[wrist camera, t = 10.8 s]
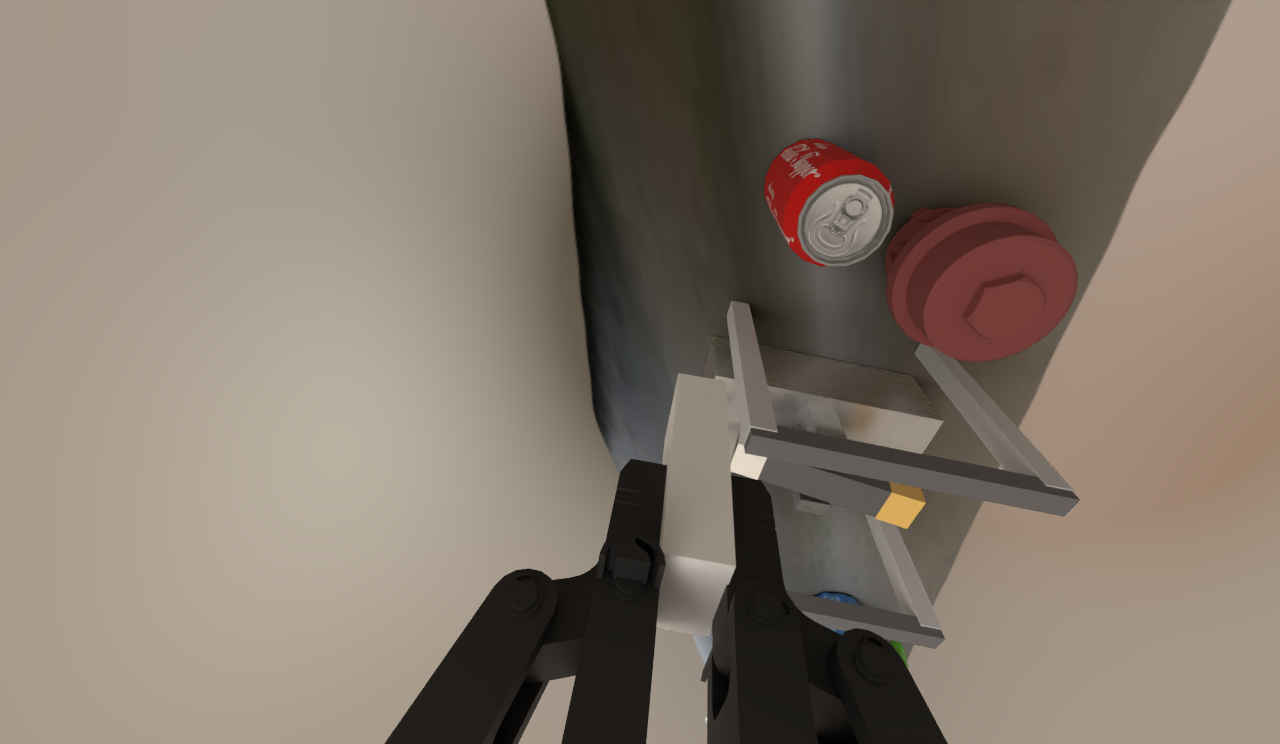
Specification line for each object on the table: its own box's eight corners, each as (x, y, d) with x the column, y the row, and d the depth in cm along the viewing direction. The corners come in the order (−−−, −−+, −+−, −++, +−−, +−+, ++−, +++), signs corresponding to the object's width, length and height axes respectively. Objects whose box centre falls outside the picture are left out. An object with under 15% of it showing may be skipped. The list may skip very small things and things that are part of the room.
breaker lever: (741, 427, 39) (738, 443, 37) (919, 483, 37) (925, 503, 35) (731, 454, 40) (728, 470, 38) (902, 508, 38) (906, 528, 36)
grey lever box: (713, 335, 45) (718, 416, 34) (911, 375, 45) (977, 468, 34) (691, 412, 50) (689, 503, 39) (869, 447, 50) (916, 548, 39)
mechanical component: (890, 170, 36) (1020, 195, 36) (840, 292, 41) (953, 313, 41) (969, 210, 26) (1152, 244, 26) (888, 366, 31) (1040, 394, 31)
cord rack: (731, 300, 43) (751, 433, 27) (940, 342, 43) (1081, 498, 27) (689, 439, 52) (686, 600, 36) (862, 473, 52) (935, 649, 36)
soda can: (810, 237, 39) (849, 294, 29) (746, 197, 38) (764, 242, 28) (865, 165, 36) (931, 202, 26) (797, 119, 35) (839, 139, 25)
